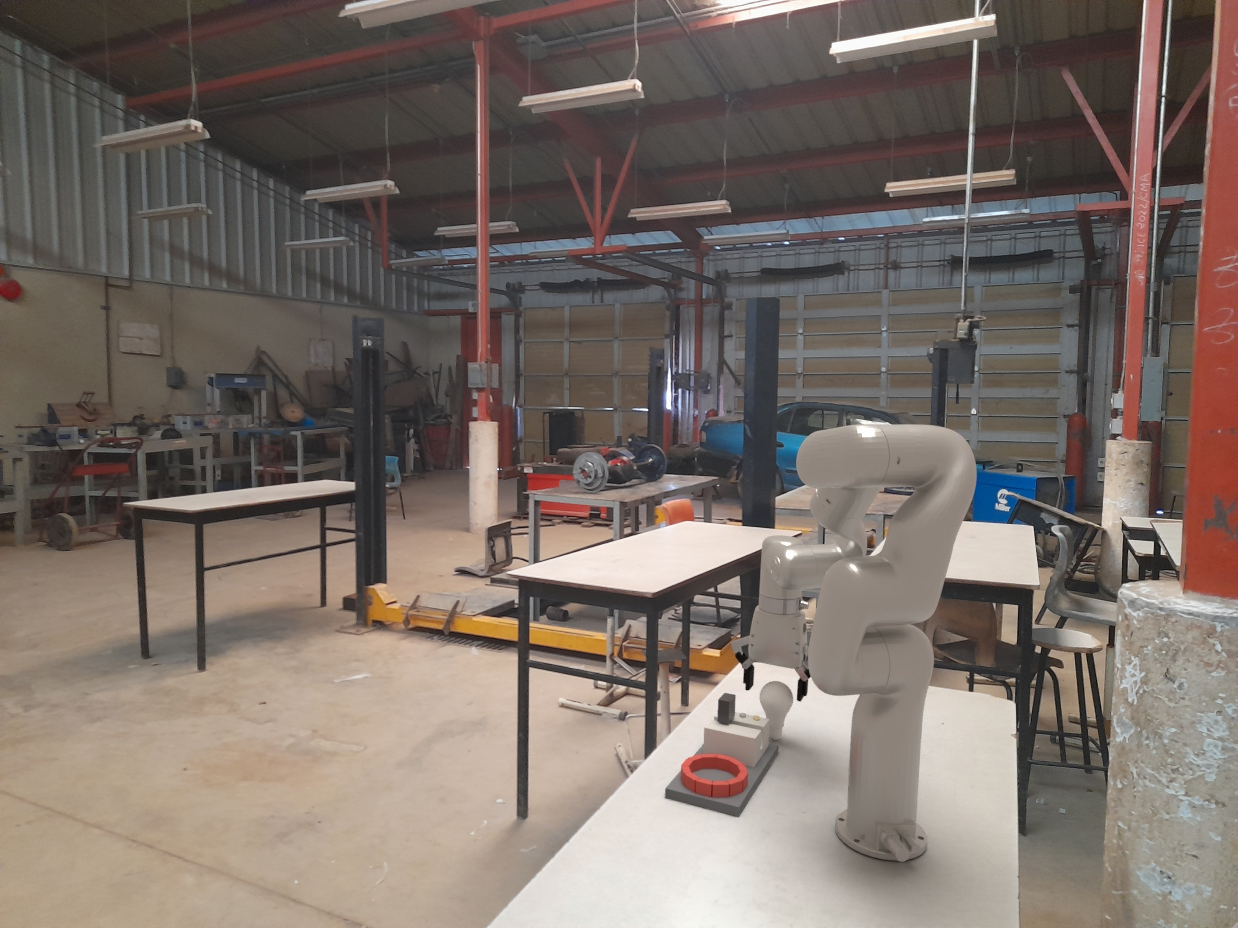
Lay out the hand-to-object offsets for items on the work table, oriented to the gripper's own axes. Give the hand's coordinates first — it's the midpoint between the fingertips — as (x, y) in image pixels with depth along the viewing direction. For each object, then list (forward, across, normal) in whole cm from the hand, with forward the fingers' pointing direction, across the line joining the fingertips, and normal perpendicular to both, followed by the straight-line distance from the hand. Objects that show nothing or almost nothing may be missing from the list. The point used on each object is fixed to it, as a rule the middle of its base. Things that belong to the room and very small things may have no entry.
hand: (774, 693), depth 145 cm
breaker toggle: (+5, +5, +12) cm, 14 cm away
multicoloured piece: (+8, +3, +18) cm, 20 cm away
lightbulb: (+9, -1, +1) cm, 9 cm away
